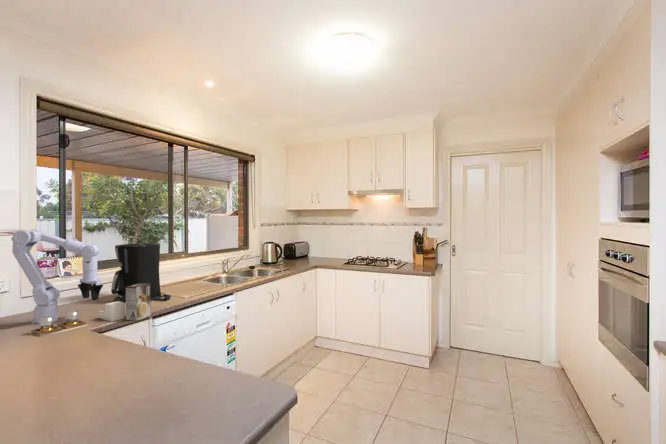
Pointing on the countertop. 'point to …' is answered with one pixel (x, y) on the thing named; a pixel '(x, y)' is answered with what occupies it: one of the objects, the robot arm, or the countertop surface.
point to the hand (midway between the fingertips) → (90, 299)
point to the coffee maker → (138, 269)
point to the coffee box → (138, 301)
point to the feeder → (113, 311)
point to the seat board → (58, 328)
